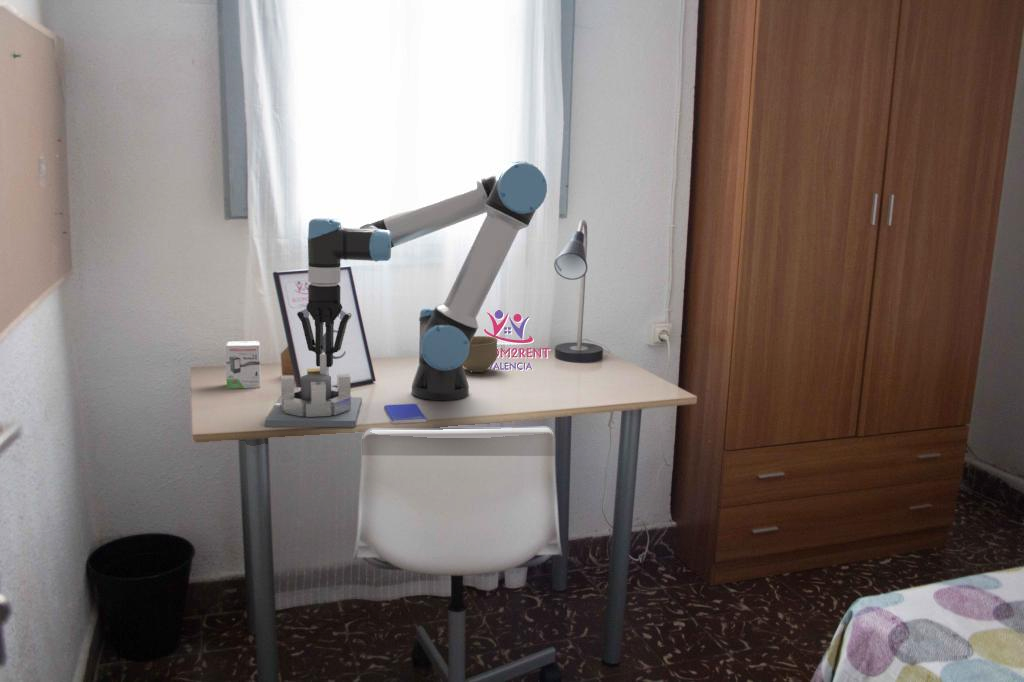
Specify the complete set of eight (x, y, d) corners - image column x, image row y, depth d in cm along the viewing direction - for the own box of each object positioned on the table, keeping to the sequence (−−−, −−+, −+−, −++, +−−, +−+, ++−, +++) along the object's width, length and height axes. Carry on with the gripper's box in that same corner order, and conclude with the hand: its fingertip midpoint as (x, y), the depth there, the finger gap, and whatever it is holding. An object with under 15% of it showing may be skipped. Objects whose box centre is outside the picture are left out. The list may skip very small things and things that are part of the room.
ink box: (226, 389, 214) (225, 345, 212) (227, 384, 219) (225, 341, 216) (260, 388, 217) (259, 344, 214) (260, 383, 221) (259, 340, 219)
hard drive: (426, 417, 193) (416, 403, 205) (392, 419, 191) (384, 404, 202) (426, 424, 194) (416, 409, 205) (392, 425, 191) (384, 410, 203)
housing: (361, 402, 207) (361, 368, 205) (355, 427, 187) (355, 389, 185) (280, 402, 204) (279, 367, 203) (265, 426, 185) (264, 388, 183)
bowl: (453, 366, 250) (454, 334, 248) (495, 367, 251) (496, 335, 249) (454, 376, 237) (455, 342, 235) (498, 377, 239) (499, 343, 237)
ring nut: (346, 396, 205) (346, 367, 204) (353, 414, 190) (353, 383, 189) (280, 399, 200) (280, 369, 199) (283, 418, 186) (282, 386, 184)
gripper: (355, 283, 199) (354, 377, 204) (302, 280, 200) (303, 374, 204) (347, 287, 192) (346, 384, 196) (292, 284, 192) (293, 381, 197)
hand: (324, 379), depth 200 cm, fingers closed
